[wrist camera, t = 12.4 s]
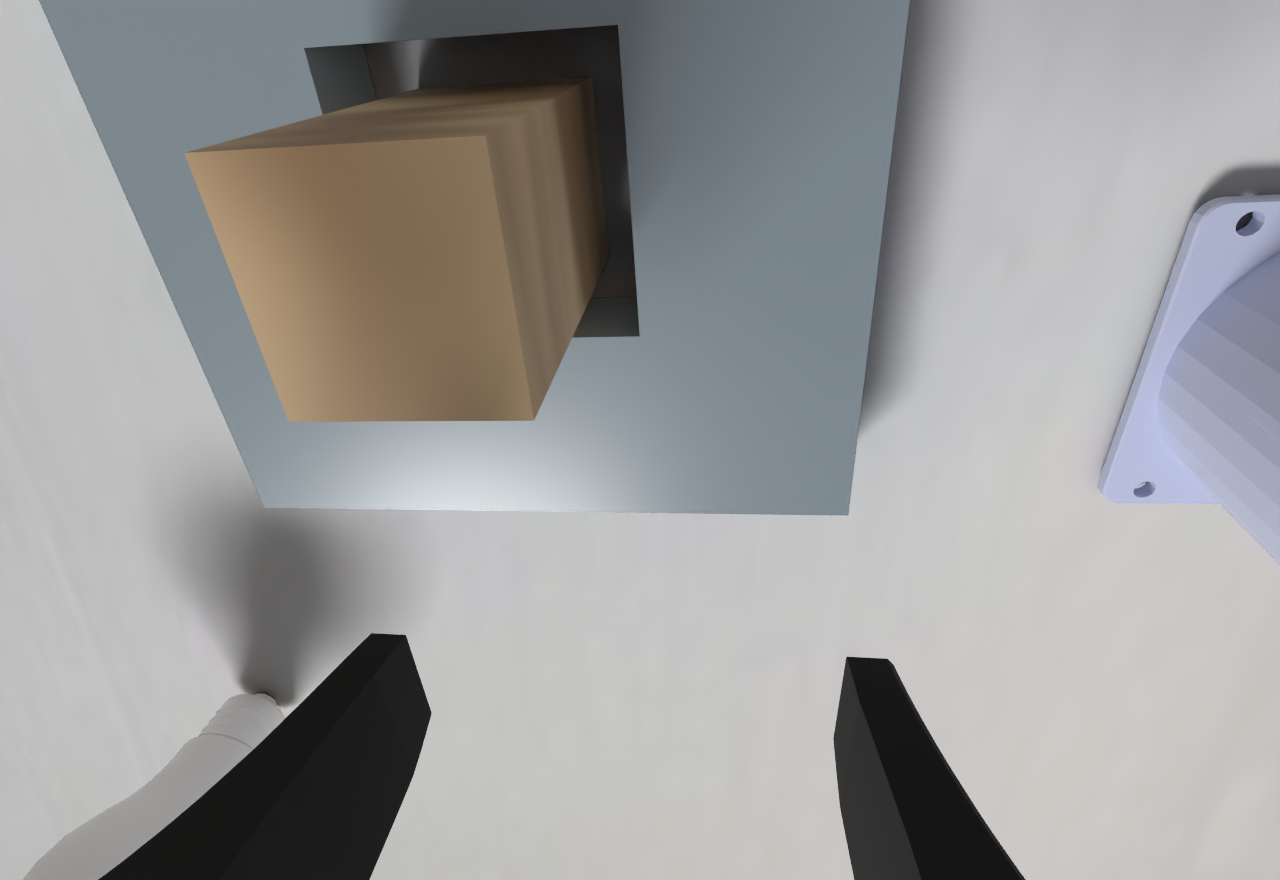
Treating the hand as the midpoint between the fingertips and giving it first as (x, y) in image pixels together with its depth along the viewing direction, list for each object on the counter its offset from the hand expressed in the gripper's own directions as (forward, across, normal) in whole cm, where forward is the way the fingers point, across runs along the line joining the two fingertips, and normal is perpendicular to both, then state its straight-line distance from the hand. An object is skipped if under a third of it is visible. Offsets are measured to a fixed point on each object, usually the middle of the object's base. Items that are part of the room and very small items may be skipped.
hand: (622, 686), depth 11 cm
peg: (+9, +3, -6) cm, 12 cm away
